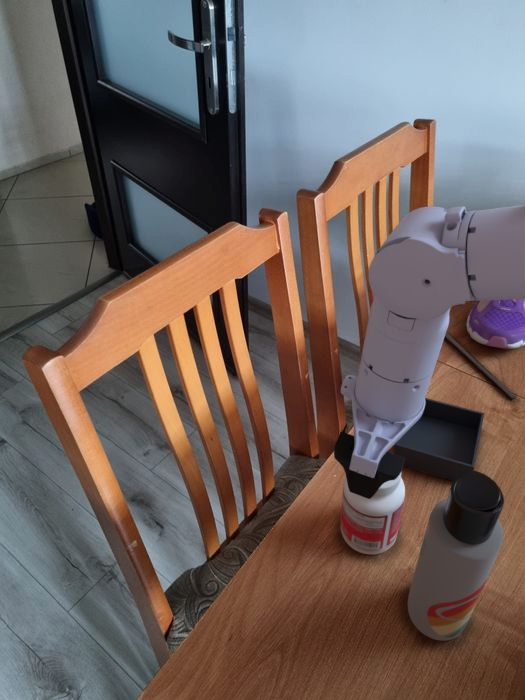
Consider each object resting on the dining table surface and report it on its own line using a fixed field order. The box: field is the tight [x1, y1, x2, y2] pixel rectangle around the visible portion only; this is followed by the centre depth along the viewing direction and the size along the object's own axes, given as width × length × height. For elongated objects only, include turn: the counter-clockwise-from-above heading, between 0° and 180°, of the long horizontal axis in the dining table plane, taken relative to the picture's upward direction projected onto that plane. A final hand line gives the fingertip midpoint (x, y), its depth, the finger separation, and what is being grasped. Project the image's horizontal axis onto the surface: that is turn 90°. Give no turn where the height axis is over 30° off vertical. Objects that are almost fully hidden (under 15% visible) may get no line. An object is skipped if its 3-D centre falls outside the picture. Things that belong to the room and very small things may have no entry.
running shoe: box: [466, 299, 525, 350], centre depth 86 cm, size 10×23×10 cm, turn 155°
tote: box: [392, 397, 485, 482], centre depth 68 cm, size 9×9×3 cm
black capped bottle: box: [407, 470, 505, 642], centre depth 47 cm, size 6×6×20 cm
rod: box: [444, 331, 517, 401], centre depth 81 cm, size 1×19×1 cm
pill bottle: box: [340, 472, 406, 556], centre depth 57 cm, size 6×6×11 cm
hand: (371, 460), depth 53 cm, fingers open, 7 cm apart
